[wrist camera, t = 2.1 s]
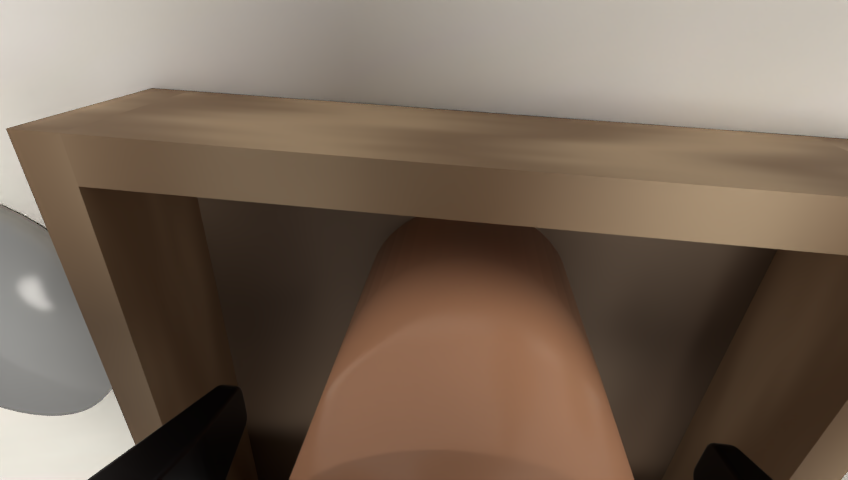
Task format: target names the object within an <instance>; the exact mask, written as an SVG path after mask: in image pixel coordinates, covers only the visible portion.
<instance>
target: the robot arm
mask: <svg viewBox="0 0 848 480" xmlns="http://www.w3.org/2000/svg"><path fill="white" fill-rule="evenodd" d="M246 422H247V410H246V406H245V401H244V396H243V392H242V389H241V388H240V387H238V386H232V385H219V386H217V387H215V388H214V389H212V390H211V391H210V392H208V393H207V394H205V395H204V396H203V397H201V398H200V399H198V400H197V401H196V402H194V403H193V404H192V405H190V406H189V407H187V408H186V409H185V410H183V411H182V412H180V413H179V414H178V415H176V416H175V417H174V418H172V419H171V420H169V421H168V422H167V423H165V424H164V425H162V426H161V427H160V428H158V429H157V430H156V431H154V432H153V433H151V434H150V435H149V436H147V437H146V438H145V439H143V440H142V441H140V442H139V443H138V444H136V445H135V446H133V447H132V448H131V449H129V450H128V451H127V452H125V453H124V454H122V455H121V456H120V457H118V458H117V459H115V460H114V461H113V462H111V463H110V464H109V465H107V466H106V467H104V468H103V469H102V470H100V471H99V472H98V473H96V474H95V475H93V476H92V477H91V478H89V479H88V480H226V478H227V475H228V472H229V470H230V467H231V464H232V461H233V459H234V456H235V453H236V451H237V448H238V445H239V443H240V440H241V437H242V434H243V432H244V429H245V426H246ZM693 480H773V479H772V478H771V477H770V476H769V475H767V474H766V473H765V472H764V471H763V470H762V469H761V468H760V467H759V466H757V465H756V464H755V463H754V462H753V461H752V460H751V459H750V458H748V457H747V456H746V455H745V454H744V453H743V452H742V451H741V450H739V449H738V448H737V447H735V446H733V445H729V444H721V443H710V444H708V445H707V446H706V448H705V450H704V452H703V453H702V455H701V457H700V459H699V461H698V462H697V464H696V466H695V468H694V472H693Z"/></svg>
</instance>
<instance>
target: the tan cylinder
mask: <svg viewBox="0 0 848 480" xmlns="http://www.w3.org/2000/svg"><path fill="white" fill-rule="evenodd" d="M289 480H634V477H633V474H632V471H631V468H630V465H629V462H628V459H627V456H626V453H625V450H624V447H623V444H622V441H621V437H620V434H619V431H618V428H617V425H616V422H615V419H614V416H613V413H612V410H611V407H610V404H609V401H608V398H607V395H606V392H605V389H604V386H603V383H602V380H601V377H600V374H599V371H598V368H597V365H596V362H595V359H594V356H593V353H592V349H591V346H590V343H589V340H588V337H587V334H586V331H585V328H584V325H583V322H582V319H581V316H580V313H579V310H578V307H577V304H576V301H575V298H574V295H573V292H572V289H571V286H570V283H569V280H568V277H567V274H566V271H565V268H564V265H563V262H562V260H561V258H560V256H559V254H558V252H557V250H556V249H555V248H554V246H553V245H552V244H551V242H550V241H549V240H548V239H547V238H546V237H545V236H544V235H543V234H542V233H541V232H540V231H539V230H537V229H536V228H535V227H525V226H514V225H502V224H491V223H480V222H469V221H458V220H447V219H435V218H424V217H415V218H413V219H411V220H409V221H408V222H406V223H405V224H403V225H402V226H400V227H399V228H398V229H397V230H396V231H394V232H393V233H392V234H391V235H390V236H389V237H388V239H387V240H386V241H385V242H384V243H383V245H382V246H381V248H380V250H379V251H378V253H377V255H376V257H375V260H374V262H373V265H372V267H371V270H370V272H369V275H368V278H367V280H366V283H365V285H364V288H363V290H362V293H361V296H360V298H359V301H358V303H357V306H356V308H355V311H354V314H353V316H352V319H351V321H350V324H349V326H348V329H347V332H346V334H345V337H344V339H343V342H342V344H341V347H340V350H339V352H338V355H337V357H336V360H335V362H334V365H333V368H332V370H331V373H330V375H329V378H328V380H327V383H326V386H325V388H324V391H323V393H322V396H321V399H320V401H319V404H318V406H317V409H316V411H315V414H314V417H313V419H312V422H311V424H310V427H309V429H308V432H307V435H306V437H305V440H304V442H303V445H302V447H301V450H300V453H299V455H298V458H297V460H296V463H295V465H294V468H293V471H292V473H291V476H290V478H289Z"/></svg>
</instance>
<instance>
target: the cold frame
mask: <svg viewBox="0 0 848 480" xmlns="http://www.w3.org/2000/svg"><path fill="white" fill-rule="evenodd" d="M6 130H7V132H8V135H9V137H10V139H11V142H12V144H13V147H14V149H15V152H16V154H17V157H18V159H19V161H20V164H21V166H22V169H23V171H24V174H25V176H26V179H27V181H28V183H29V186H30V188H31V191H32V193H33V196H34V198H35V201H36V203H37V205H38V208H39V210H40V213H41V215H42V218H43V220H44V223H45V225H46V227H47V230H48V232H49V235H50V237H51V240H52V242H53V245H54V247H55V249H56V252H57V254H58V257H59V259H60V262H61V264H62V267H63V269H64V271H65V274H66V276H67V279H68V281H69V284H70V286H71V289H72V291H73V293H74V296H75V298H76V301H77V303H78V306H79V308H80V310H81V313H82V315H83V318H84V320H85V323H86V325H87V328H88V330H89V332H90V335H91V337H92V340H93V342H94V345H95V347H96V350H97V352H98V354H99V357H100V359H101V362H102V364H103V367H104V369H105V372H106V374H107V376H108V379H109V381H110V384H111V386H112V389H113V391H114V394H115V396H116V398H117V401H118V403H119V406H120V408H121V411H122V413H123V416H124V418H125V420H126V423H127V425H128V428H129V430H130V433H131V435H132V438H133V440H134V442H135V445H136V444H138V443H139V442H140V441H142V440H143V439H145V438H146V437H147V436H149V435H150V434H151V433H153V432H154V431H156V430H157V429H158V428H160V427H161V426H162V425H164V424H165V423H167V422H168V421H169V420H171V419H172V418H174V417H175V416H176V415H178V414H179V413H180V412H182V411H183V410H185V409H186V408H187V407H189V406H190V405H192V404H193V403H194V402H196V401H197V400H198V399H200V398H201V397H203V396H204V395H205V394H207V393H208V392H210V391H211V390H212V389H214V388H215V387H217V386H219V385H232V386H238V387H240V388H241V389H242V392H243V396H244V401H245V406H246V410H247V422H246V426H245V429H244V432H243V434H242V437H241V440H240V443H239V445H238V448H237V451H236V453H235V456H234V459H233V461H232V464H231V467H230V470H229V472H228V475H227V478H226V480H289V478H290V476H291V473H292V471H293V468H294V465H295V463H296V460H297V458H298V455H299V453H300V450H301V447H302V445H303V442H304V440H305V437H306V435H307V432H308V429H309V427H310V424H311V422H312V419H313V417H314V414H315V411H316V409H317V406H318V404H319V401H320V399H321V396H322V393H323V391H324V388H325V386H326V383H327V380H328V378H329V375H330V373H331V370H332V368H333V365H334V362H335V360H336V357H337V355H338V352H339V350H340V347H341V344H342V342H343V339H344V337H345V334H346V332H347V329H348V326H349V324H350V321H351V319H352V316H353V314H354V311H355V308H356V306H357V303H358V301H359V298H360V296H361V293H362V290H363V288H364V285H365V283H366V280H367V278H368V275H369V272H370V270H371V267H372V265H373V262H374V260H375V257H376V255H377V253H378V251H379V250H380V248H381V246H382V245H383V243H384V242H385V241H386V240H387V239H388V237H389V236H390V235H391V234H392V233H393V232H394V231H396V230H397V229H398V228H399V227H400V226H402V225H403V224H405V223H406V222H408V221H409V220H411V219H413V218H415V217H424V218H435V219H447V220H458V221H469V222H480V223H491V224H502V225H514V226H525V227H535V228H536V229H537V230H539V231H540V232H541V233H542V234H543V235H544V236H545V237H546V238H547V239H548V240H549V241H550V242H551V244H552V245H553V246H554V248H555V249H556V250H557V252H558V254H559V256H560V258H561V260H562V262H563V265H564V268H565V271H566V274H567V277H568V280H569V283H570V286H571V289H572V292H573V295H574V298H575V301H576V304H577V307H578V310H579V313H580V316H581V319H582V322H583V325H584V328H585V331H586V334H587V337H588V340H589V343H590V346H591V349H592V353H593V356H594V359H595V362H596V365H597V368H598V371H599V374H600V377H601V380H602V383H603V386H604V389H605V392H606V395H607V398H608V401H609V404H610V407H611V410H612V413H613V416H614V419H615V422H616V425H617V428H618V431H619V434H620V437H621V441H622V444H623V447H624V450H625V453H626V456H627V459H628V462H629V465H630V468H631V471H632V474H633V477H634V480H693V472H694V468H695V466H696V464H697V462H698V461H699V459H700V457H701V455H702V453H703V452H704V450H705V448H706V446H707V445H708V444H710V443H721V444H729V445H733V446H735V447H737V448H738V449H739V450H741V451H742V452H743V453H744V454H745V455H746V456H747V457H748V458H750V459H751V460H752V461H753V462H754V463H755V464H756V465H757V466H759V467H760V468H761V469H762V470H763V471H764V472H765V473H766V474H767V475H769V476H770V477H771V478H772V479H773V480H841V479H842V478H843V476H844V475H845V474H846V473H847V472H848V139H839V138H825V137H812V136H798V135H784V134H771V133H757V132H743V131H730V130H716V129H702V128H688V127H675V126H661V125H647V124H634V123H620V122H606V121H593V120H579V119H565V118H552V117H538V116H524V115H510V114H497V113H483V112H469V111H456V110H442V109H428V108H415V107H401V106H387V105H374V104H360V103H346V102H333V101H319V100H305V99H291V98H278V97H264V96H250V95H237V94H223V93H209V92H196V91H182V90H168V89H155V88H151V89H147V90H144V91H140V92H137V93H133V94H129V95H126V96H122V97H119V98H115V99H111V100H108V101H104V102H100V103H97V104H93V105H90V106H86V107H82V108H79V109H75V110H72V111H68V112H64V113H61V114H57V115H54V116H50V117H46V118H43V119H39V120H36V121H32V122H28V123H25V124H21V125H17V126H14V127H10V128H7V129H6Z"/></svg>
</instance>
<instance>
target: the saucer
mask: <svg viewBox="0 0 848 480" xmlns="http://www.w3.org/2000/svg"><path fill="white" fill-rule="evenodd" d="M111 390H112V386H111V384H110V381H109V379H108V376H107V374H106V372H105V369H104V367H103V364H102V362H101V359H100V357H99V354H98V352H97V350H96V347H95V345H94V342H93V340H92V337H91V335H90V332H89V330H88V328H87V325H86V323H85V320H84V318H83V315H82V313H81V310H80V308H79V306H78V303H77V301H76V298H75V296H74V293H73V291H72V289H71V286H70V284H69V281H68V279H67V276H66V274H65V271H64V269H63V267H62V264H61V262H60V259H59V257H58V254H57V252H56V249H55V247H54V245H53V242H52V240H51V237H50V235H49V232H48V231H47V230H46V229H45V228H43V227H42V226H40V225H38V224H37V223H35V222H33V221H31V220H30V219H28V218H26V217H24V216H23V215H21V214H19V213H17V212H14V211H12V210H10V209H8V208H6V207H4V206H1V205H0V407H2V408H5V409H9V410H13V411H17V412H22V413H28V414H33V415H45V416H59V415H68V414H74V413H78V412H81V411H84V410H87V409H89V408H91V407H93V406H94V405H96V404H97V403H99V402H100V401H101V400H102V399H103V398H104V397H105V396H106V395H107V394H108V393H109V392H110V391H111Z"/></svg>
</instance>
